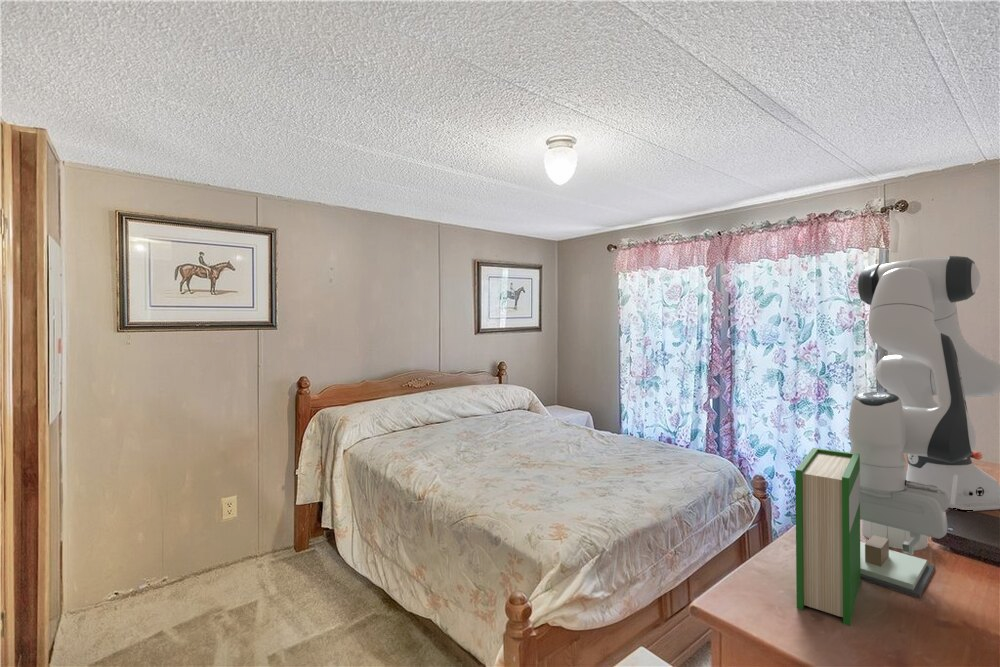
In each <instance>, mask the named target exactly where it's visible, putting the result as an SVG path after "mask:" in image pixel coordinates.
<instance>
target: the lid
mask: <svg viewBox="0 0 1000 667" xmlns="http://www.w3.org/2000/svg"><path fill="white" fill-rule="evenodd" d="M927 563H928V559H924V558H921V557H917V556H914V555H911V554H908V553H904V552H899V551H895V550H891V549H890V547H889V539H887V538H883V537H879V536H875V535H873V536H872V537H871V538H870V539H868V540H867V541H866V542H863V541H860V573H861V574H864V575H867V576H870V577H873V578H877V579H880V580H883V581H886V582H889V583H892V584H895V585H898V586H902V587H905V588H908V589H911V590H914V588H915V586H916V584H917V583H918V581H919V579H920V577H921V575H922V573H923V572H924V570H925V568H926V566H927Z"/></svg>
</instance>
